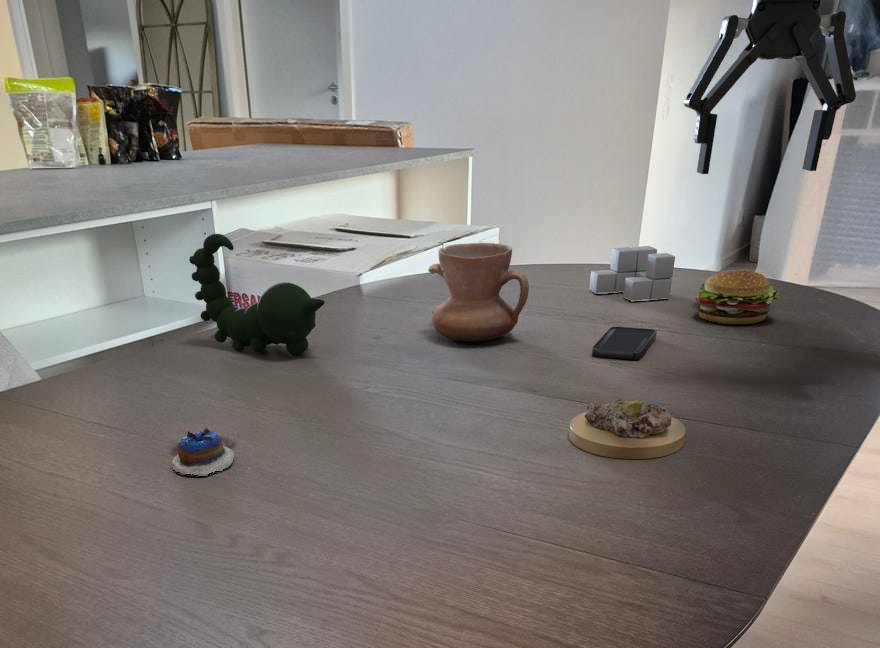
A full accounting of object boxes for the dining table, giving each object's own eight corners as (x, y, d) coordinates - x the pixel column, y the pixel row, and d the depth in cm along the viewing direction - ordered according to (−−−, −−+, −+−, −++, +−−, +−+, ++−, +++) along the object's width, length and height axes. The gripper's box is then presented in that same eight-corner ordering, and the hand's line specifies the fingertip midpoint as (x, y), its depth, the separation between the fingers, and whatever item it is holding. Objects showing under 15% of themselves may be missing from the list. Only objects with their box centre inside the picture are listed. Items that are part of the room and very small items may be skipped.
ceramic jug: (410, 342, 145) (409, 252, 137) (448, 322, 156) (449, 238, 148) (507, 354, 138) (511, 260, 130) (540, 332, 148) (546, 244, 140)
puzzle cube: (588, 291, 174) (592, 249, 169) (644, 287, 175) (649, 245, 171) (611, 304, 164) (616, 260, 160) (669, 300, 166) (675, 256, 161)
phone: (590, 348, 134) (612, 325, 146) (590, 356, 135) (611, 332, 146) (640, 353, 132) (658, 329, 143) (640, 360, 132) (657, 336, 143)
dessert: (193, 442, 106) (208, 408, 102) (234, 475, 107) (251, 444, 103) (154, 470, 101) (168, 435, 97) (197, 505, 101) (213, 473, 97)
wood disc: (668, 417, 111) (670, 406, 110) (697, 458, 100) (699, 446, 99) (561, 419, 112) (562, 408, 111) (578, 460, 100) (579, 448, 99)
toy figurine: (197, 359, 146) (315, 363, 134) (170, 239, 136) (295, 232, 125) (232, 345, 153) (347, 348, 141) (208, 230, 143) (330, 222, 131)
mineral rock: (682, 402, 104) (668, 403, 98) (676, 438, 106) (661, 442, 99) (598, 393, 109) (578, 394, 103) (592, 428, 111) (573, 431, 104)
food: (766, 331, 145) (776, 281, 140) (684, 322, 151) (691, 275, 147) (783, 313, 154) (793, 266, 150) (705, 306, 161) (712, 261, 156)
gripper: (889, -40, 100) (841, 165, 112) (676, -32, 101) (651, 171, 113) (920, -47, 94) (866, 171, 106) (693, -38, 95) (665, 177, 106)
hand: (755, 171), depth 109 cm, fingers open, 13 cm apart
